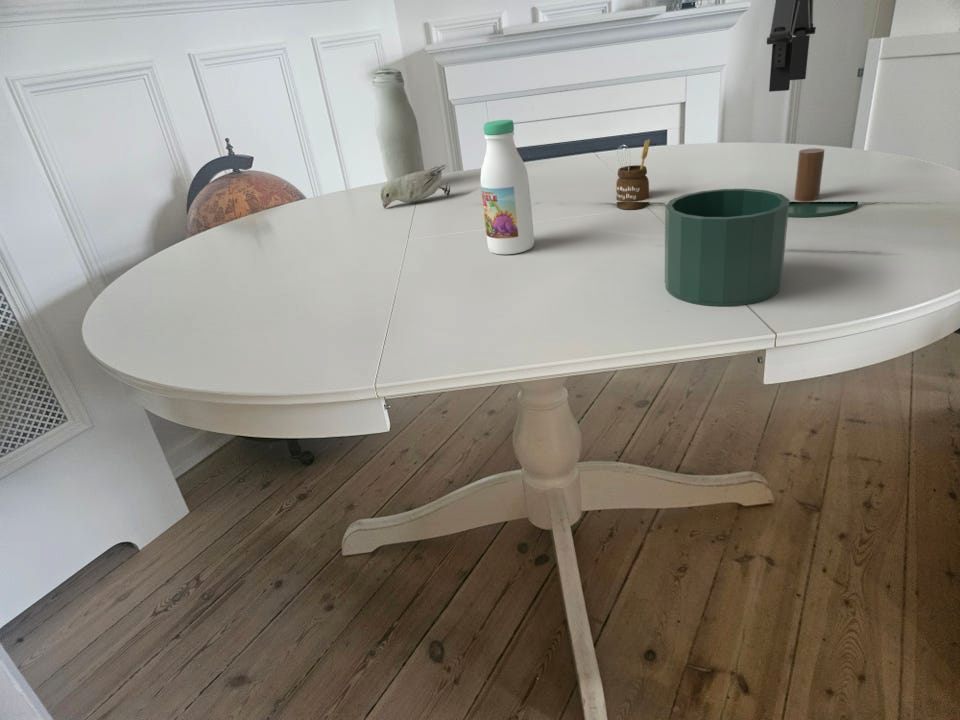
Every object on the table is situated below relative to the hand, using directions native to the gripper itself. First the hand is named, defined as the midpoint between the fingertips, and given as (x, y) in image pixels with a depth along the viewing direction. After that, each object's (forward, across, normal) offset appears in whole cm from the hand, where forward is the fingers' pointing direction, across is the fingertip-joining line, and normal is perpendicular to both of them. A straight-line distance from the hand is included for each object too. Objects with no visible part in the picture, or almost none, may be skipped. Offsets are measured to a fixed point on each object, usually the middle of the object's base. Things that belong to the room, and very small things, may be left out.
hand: (788, 85), depth 100 cm
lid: (+18, +4, +5) cm, 19 cm away
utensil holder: (+19, +5, -24) cm, 31 cm away
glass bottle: (+19, -4, -87) cm, 89 cm away
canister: (+19, +40, +1) cm, 44 cm away
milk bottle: (+19, +32, -35) cm, 51 cm away
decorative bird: (+19, +7, -75) cm, 78 cm away
